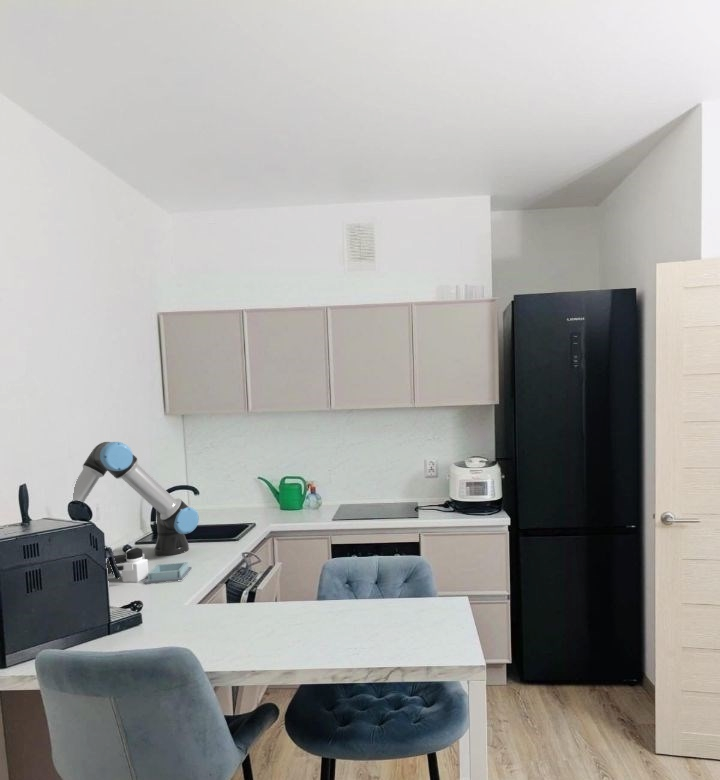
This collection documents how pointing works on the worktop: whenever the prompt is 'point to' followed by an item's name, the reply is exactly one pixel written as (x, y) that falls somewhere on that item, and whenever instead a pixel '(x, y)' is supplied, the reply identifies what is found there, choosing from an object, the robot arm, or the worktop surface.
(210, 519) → the worktop surface
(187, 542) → the robot arm
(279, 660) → the worktop surface
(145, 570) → the medicine bottle
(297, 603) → the worktop surface
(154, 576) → the shallow blue tray
